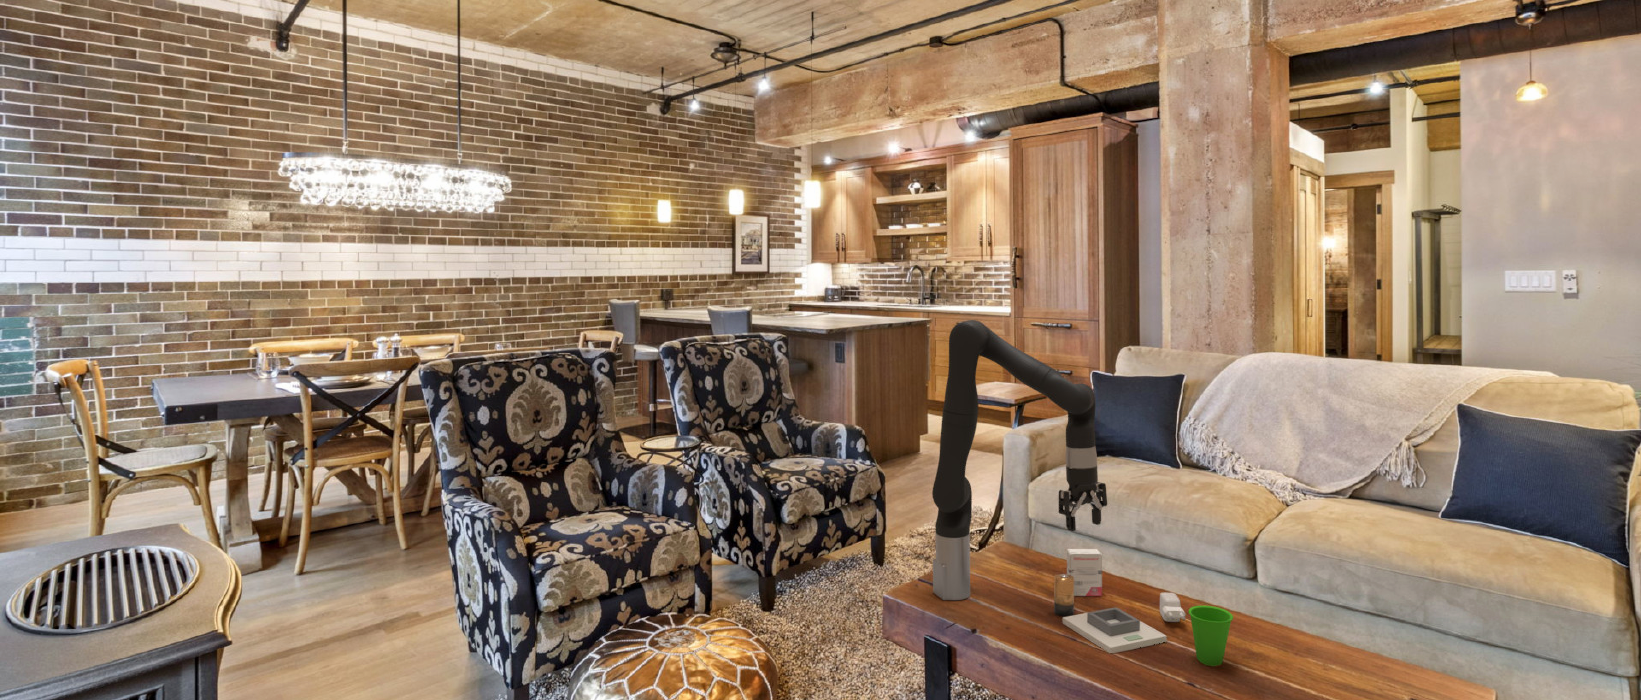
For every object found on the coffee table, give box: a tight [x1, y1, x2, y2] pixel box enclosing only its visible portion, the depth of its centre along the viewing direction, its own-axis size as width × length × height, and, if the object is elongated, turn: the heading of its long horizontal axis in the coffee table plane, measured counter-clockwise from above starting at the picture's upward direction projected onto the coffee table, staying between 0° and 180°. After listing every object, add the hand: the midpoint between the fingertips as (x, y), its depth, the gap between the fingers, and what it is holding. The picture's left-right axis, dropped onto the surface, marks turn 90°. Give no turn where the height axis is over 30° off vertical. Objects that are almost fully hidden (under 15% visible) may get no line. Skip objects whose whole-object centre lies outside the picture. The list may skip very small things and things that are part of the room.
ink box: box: [1066, 548, 1103, 597], centre depth 224 cm, size 9×5×12 cm, turn 84°
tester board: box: [1062, 606, 1168, 654], centre depth 200 cm, size 16×18×4 cm
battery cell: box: [1053, 573, 1075, 618], centre depth 212 cm, size 5×5×10 cm
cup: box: [1188, 604, 1234, 667], centre depth 184 cm, size 9×9×11 cm
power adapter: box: [1159, 592, 1187, 623], centre depth 205 cm, size 11×5×6 cm, turn 171°
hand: (1084, 527), depth 209 cm, fingers open, 8 cm apart
